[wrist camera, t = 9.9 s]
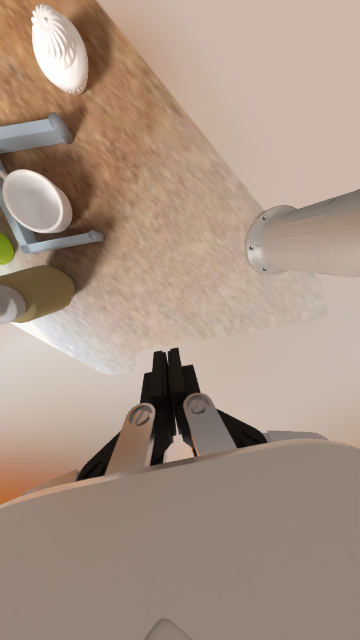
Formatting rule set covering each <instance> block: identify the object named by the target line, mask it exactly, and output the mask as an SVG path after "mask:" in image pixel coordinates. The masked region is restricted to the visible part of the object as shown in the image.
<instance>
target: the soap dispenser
mask: <svg viewBox="0 0 360 640" xmlns="http://www.w3.org/2000/svg"><path fill="white" fill-rule="evenodd" d="M13 256H14V249H13V246H12V244H11V242H10V241H9V239H8V238H7V237H6V236H5V235H4V234H2V233H1V232H0V265H3V264H7V263H9V262H10V261H11V260H12V259H13Z"/></svg>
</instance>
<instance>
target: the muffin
mask: <svg viewBox="0 0 360 640" xmlns="http://www.w3.org/2000/svg"><path fill="white" fill-rule="evenodd" d="M33 15H34V17H32V18H31V20H32V22H33V27H32V30H33V31H32V42H33V49H34V53H35V56H36V59H37V62H38V64H39V66H40V68H41V69H42V71H43V72H44V74H45V75H46V77H47V78H48V79H49V80H50V81H51V82H52V83H53V84H55V85H56V86H57V87H59V88H61V90H63V91H65V92H67V93H70V94H73V95H79V94H81V93H83V91H84V89H85V88H86V84H87V79H88V71H89V70H88V57H87V52H86V48H85V45H84V43H83V40H82V38H81V36H80V34H79V32H78V31H77V29H76V28H75V27H74V25H73V24H72V23H71V22H70V21H69V20H68V19H67V18H66V17H65V16H63V15H62V14H60V13H58V12H56V11H55V10H53V9H52V7H51V6H49V5H46V6H45V5H44V4H41V5H40V7H39V6H38V5H36V11H34V10H33Z"/></svg>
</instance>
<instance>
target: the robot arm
mask: <svg viewBox="0 0 360 640" xmlns="http://www.w3.org/2000/svg"><path fill="white" fill-rule="evenodd" d="M263 218H264V219H263ZM249 247H250V249H249ZM246 255H247V258H248V261H249V263H250V264H251V266H252V267H253V268H254V269H255V270H256V271H258V272H260V273H263V274H267V275H276V274H281V273H283V272H285V271H287V270H296V271H304V272H312V273H319V274H327V275H335V276H343V277H360V189H359V190H356V191H354V192H350V193H348V194H344V195H341V196H338V197H335V198H332V199H328V200H326V201H322V202H319V203H316V204H313V205H310V206H307V207H304V208H300V209H296V208H294V207H292V206H287V205H283V206H277V207H274V208H271V209H269V210H267V211H265V212H264V213H262V214H261V215H260V216H259V217H258V218H257V219H256V220H255V222H254V223H253V224H252V226H251V228H250V230H249V232H248V235H247V239H246ZM170 350H171V351H168V362H167V357H166V353H165V352H162V351H157V352H154V357H153V368H152V372H149V373H145V374H144V380H143V386H142V394H141V400H140V404H138V405H136V406H135V407H133V408H132V409H131V410H130V411H129V413H128V415H127V417H126V419H125V422H124V424H123V428H122V430H121V431H120V432H119V433H118V434H117V435H116V436H115V437H114V438H113V439H112V440H111V441H110V442H109V443H108V444H106V445H105V446H104V447H103V448H102V449H101V450H100V451H99V452H98V453H97V454H96V455H95V456H94V457H93V458H92V459H91V460H90V461H88V463H87V464H86V465H85V466H84V467H83V469H82V470H80V471H78V470H77V469H76V470H74V471H71V472H69V473H67V474H64V475H62V476H60V477H58V478H55V479H53V480H51V481H48V482H46V483H44V484H42V485H39V486H37V487H35V488H32V489H30V490H29V491H27V492H25V493H24V494H23V495H21V496H20V497H19V498H16V499H13V500H11V501H9V502H7V503H4V504H2V505H0V640H360V448H357V447H354V446H351V445H347V444H344V443H340V442H335V441H329V440H328V439H327V438H325V437H323V436H321V435H319V434H317V433H312V432H291V431H267V433H261V432H260V431H258V430H257V429H255V428H253V427H252V426H250V425H247V424H246V423H244V422H241V421H240V420H238V419H236V418H234V417H232V416H230V415H228V414H226V413H224V412H222V411H220V410H218V409H216V408H215V406H214V404H213V402H212V400H211V399H210V398H209V397H208V396H207V395H205V394H203V393H200V389H199V385H198V382H197V378H196V374H195V371H194V367H193V365H187V366H181V361H180V355H179V349H178V348H173V349H170ZM175 418H176V422H177V427H178V431H179V434H182V437H183V441H184V442H185V443H186V444H188V445H189V446H191V449H192V453H193V456H194V457H193V458H188V459H183V460H178V461H173V462H168V463H166V459H167V451H166V450H167V448H168V447H169V446H170V444H171V443H173V436H175V435H176V424H175Z"/></svg>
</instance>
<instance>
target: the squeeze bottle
mask: <svg viewBox="0 0 360 640" xmlns="http://www.w3.org/2000/svg"><path fill="white" fill-rule="evenodd" d="M74 293H75V284H74V282H73V280H72V279H71V278H70V276H69V275H67V274H66V273H64V272H62V271H60V270H58V269H56V268H53V267H49V266H44V265H42V266H37V267H32V268H28V269H25V270H21V271H18V272H14V273H11V274H7V275H3V276H0V323H1V324H4V323H9V322H17V323H23V322H28V321H31V320H34V319H37V318H39V317H42V316H45V315H48V314H50V313H53V312H56V311H59V310H61V309H63V308H65V307H66V306H68V305H69V304H70V302H71V300H72V298H73V295H74Z"/></svg>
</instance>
